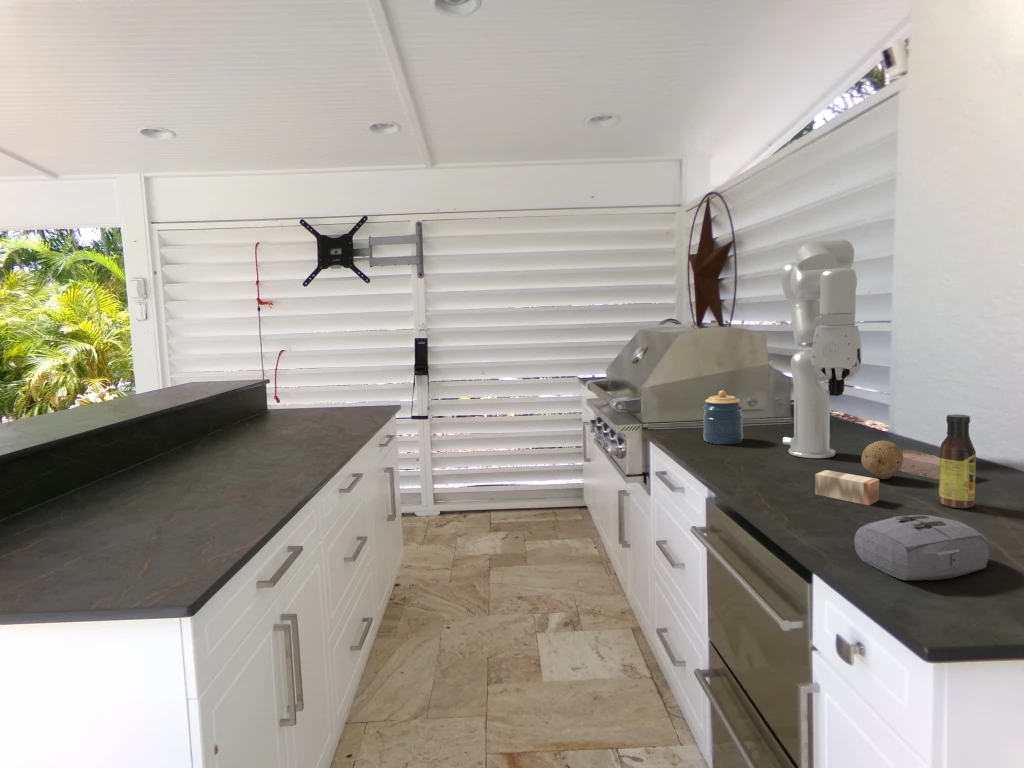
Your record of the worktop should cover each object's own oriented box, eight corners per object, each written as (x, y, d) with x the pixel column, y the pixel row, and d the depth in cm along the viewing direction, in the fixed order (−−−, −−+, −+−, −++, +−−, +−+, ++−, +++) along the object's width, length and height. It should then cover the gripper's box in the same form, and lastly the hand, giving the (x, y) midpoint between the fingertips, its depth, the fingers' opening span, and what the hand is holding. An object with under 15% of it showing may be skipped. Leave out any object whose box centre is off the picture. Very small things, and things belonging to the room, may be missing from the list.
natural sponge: (880, 485, 144) (880, 446, 143) (852, 476, 152) (853, 439, 151) (911, 481, 146) (912, 442, 144) (882, 472, 154) (882, 435, 153)
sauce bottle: (976, 511, 123) (979, 419, 121) (940, 507, 127) (942, 417, 125) (972, 502, 129) (975, 413, 127) (937, 498, 132) (939, 412, 130)
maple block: (815, 473, 140) (869, 483, 130) (825, 469, 143) (879, 479, 133) (815, 494, 140) (869, 505, 131) (825, 489, 143) (878, 500, 134)
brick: (973, 479, 146) (974, 460, 145) (951, 484, 143) (952, 465, 142) (908, 465, 161) (908, 448, 161) (886, 469, 158) (887, 452, 158)
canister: (699, 443, 199) (698, 392, 197) (708, 436, 210) (707, 387, 208) (739, 446, 192) (738, 393, 190) (746, 438, 203) (745, 388, 201)
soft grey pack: (913, 592, 92) (1016, 574, 96) (914, 541, 91) (1018, 525, 95) (841, 555, 106) (932, 541, 110) (841, 511, 106) (933, 498, 109)
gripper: (798, 322, 145) (798, 394, 148) (862, 321, 133) (860, 400, 136) (814, 319, 150) (814, 389, 152) (877, 319, 137) (875, 395, 140)
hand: (836, 394), depth 144 cm, fingers closed
